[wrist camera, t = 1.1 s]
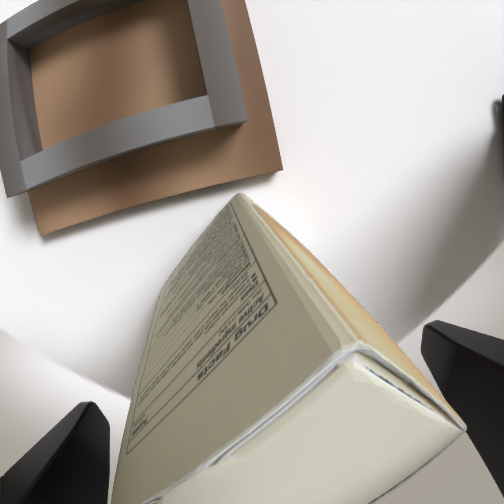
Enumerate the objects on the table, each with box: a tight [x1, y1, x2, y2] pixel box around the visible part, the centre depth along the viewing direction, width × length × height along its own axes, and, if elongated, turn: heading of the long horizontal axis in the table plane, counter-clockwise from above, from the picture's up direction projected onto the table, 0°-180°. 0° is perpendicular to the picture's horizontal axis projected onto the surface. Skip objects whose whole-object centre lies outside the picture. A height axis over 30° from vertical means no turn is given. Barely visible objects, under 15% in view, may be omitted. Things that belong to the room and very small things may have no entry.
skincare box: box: [111, 193, 467, 504], centre depth 10 cm, size 6×4×12 cm
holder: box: [0, 0, 283, 236], centre depth 10 cm, size 12×12×3 cm
